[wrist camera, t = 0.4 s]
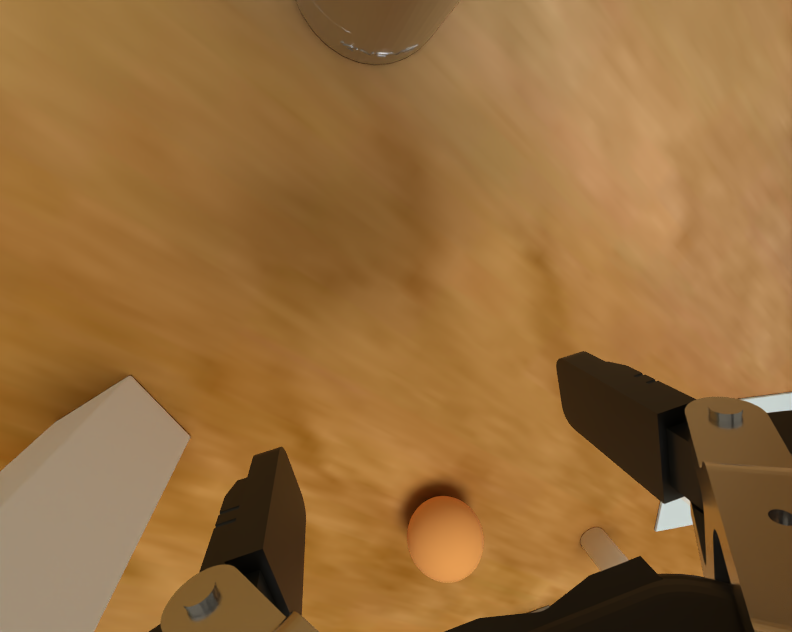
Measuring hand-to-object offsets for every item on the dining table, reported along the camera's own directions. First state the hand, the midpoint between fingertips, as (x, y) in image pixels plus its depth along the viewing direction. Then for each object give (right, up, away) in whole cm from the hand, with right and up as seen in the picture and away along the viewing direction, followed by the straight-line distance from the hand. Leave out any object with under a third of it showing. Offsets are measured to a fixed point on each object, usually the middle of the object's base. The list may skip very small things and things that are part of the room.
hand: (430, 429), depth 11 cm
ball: (+3, -14, +21) cm, 25 cm away
